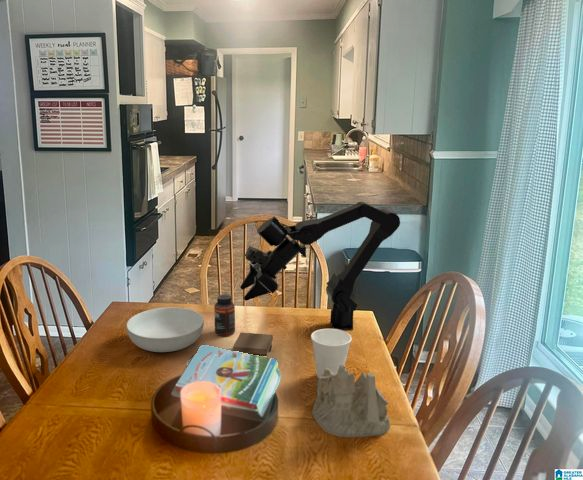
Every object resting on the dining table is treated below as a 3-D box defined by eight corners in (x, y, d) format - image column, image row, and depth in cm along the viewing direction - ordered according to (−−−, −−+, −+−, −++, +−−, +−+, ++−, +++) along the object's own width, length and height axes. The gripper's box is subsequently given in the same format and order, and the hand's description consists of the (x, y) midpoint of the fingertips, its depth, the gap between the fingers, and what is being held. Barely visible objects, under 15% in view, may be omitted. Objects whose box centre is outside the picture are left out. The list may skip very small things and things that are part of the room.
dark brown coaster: (272, 348, 144) (272, 334, 143) (266, 363, 135) (267, 349, 134) (240, 345, 145) (240, 332, 144) (233, 360, 136) (232, 346, 135)
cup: (354, 373, 131) (357, 333, 129) (341, 391, 123) (343, 349, 120) (318, 364, 135) (319, 325, 133) (302, 382, 127) (304, 340, 124)
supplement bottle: (236, 329, 156) (236, 293, 153) (232, 337, 150) (232, 300, 147) (217, 328, 156) (216, 292, 153) (212, 336, 150) (211, 299, 148)
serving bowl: (111, 352, 139) (109, 328, 138) (158, 324, 158) (157, 302, 157) (176, 368, 132) (176, 343, 130) (218, 336, 151) (218, 314, 149)
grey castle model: (394, 438, 106) (395, 368, 103) (313, 439, 106) (312, 369, 103) (381, 400, 121) (382, 339, 118) (311, 401, 121) (310, 340, 118)
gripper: (257, 230, 157) (220, 266, 157) (266, 246, 139) (225, 286, 140) (282, 254, 160) (246, 289, 161) (294, 273, 143) (254, 312, 143)
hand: (242, 293), depth 151 cm, fingers open, 9 cm apart
